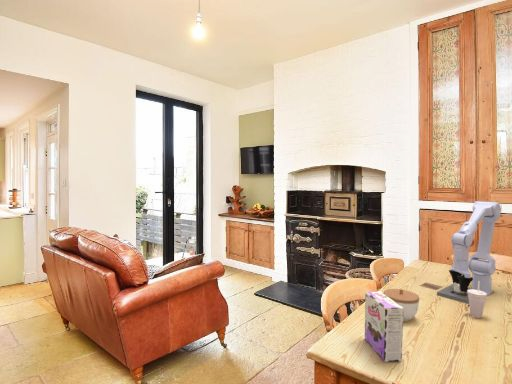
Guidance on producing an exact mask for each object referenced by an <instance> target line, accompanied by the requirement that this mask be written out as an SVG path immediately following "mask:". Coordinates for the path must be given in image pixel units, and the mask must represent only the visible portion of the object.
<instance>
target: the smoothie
mask: <svg viewBox="0 0 512 384" xmlns="http://www.w3.org/2000/svg"><path fill="white" fill-rule="evenodd" d="M479 287H480V281H478V290H473V289H472V288H471V289H470V290H467V293H468V298H469V304H468V305H469V306H468V307H469V313H470V316H471V317H473V318H476V319H482V317H483V313H484V307H485V302H486V298H487V297H488V295H487V294H486V293H487V292H486V293H485V292H483V291H480V290H479Z"/></svg>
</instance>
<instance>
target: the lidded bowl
mask: <svg viewBox="0 0 512 384" xmlns="http://www.w3.org/2000/svg"><path fill="white" fill-rule="evenodd" d="M383 293H384V294H385V295H386V296H388V297H389V298H390V299H392V300H393V301H394V302H396V303H397V304H398V305H400V306H402V307H403V308H404V309H403V322H409V321H410V320H411V319H413V318H414V317H415V316H416V315H417V314H418V310H419V303H420V302H419V301H420V296H419V295H418V294H417V293H416V292H413V291H409V290H406V289H402V288H389V289H388V288H387V289H385V290H384V291H383Z"/></svg>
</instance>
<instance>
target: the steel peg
mask: <svg viewBox="0 0 512 384" xmlns="http://www.w3.org/2000/svg"><path fill="white" fill-rule="evenodd" d="M453 293H454V294H458V295H461V296H465V292H461V289H460V282H454V292H453Z"/></svg>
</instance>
